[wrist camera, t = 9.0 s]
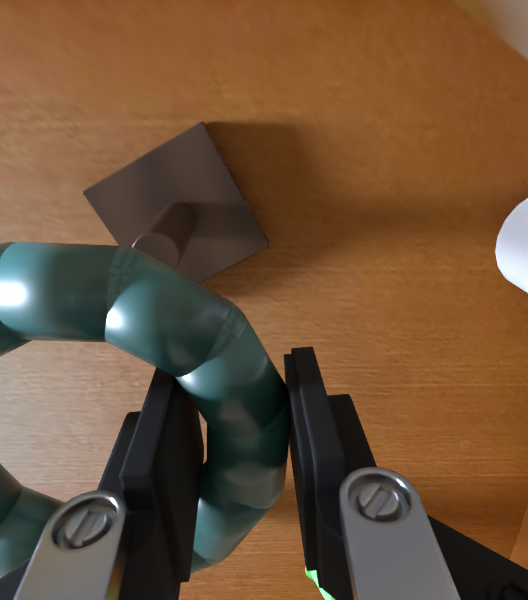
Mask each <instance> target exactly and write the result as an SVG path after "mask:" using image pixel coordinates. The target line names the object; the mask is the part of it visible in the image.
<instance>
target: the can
mask: <svg viewBox="0 0 528 600" xmlns="http://www.w3.org/2000/svg"><path fill="white" fill-rule="evenodd" d="M495 254H496V259H497V263H498V267H499V269H500V270H501V272H502V274H503V275H504V277H505V278H506V279H507V280H509V281H510V282H512V283H513V284H515V285H516V286H518V287H519V288H521V289H522V290H524V291H526V292H527V293H528V198H527V199H526V200H524V201H523V202H522V203H520V204H519V205H517V206H516V208H515V209H514V210H513V211H512V213H511V214H510V215H509V216H508V217H507V219H506V220H505V221H504V224H503V226H502V228H501V230H500V232H499V234H498V237H497V244H496V251H495Z"/></svg>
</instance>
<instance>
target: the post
mask: <svg viewBox="0 0 528 600" xmlns="http://www.w3.org/2000/svg"><path fill="white" fill-rule="evenodd" d="M82 193H83V194H84V196H85V197H86V199H87V200H88V202H89V203H90V205H91V206H92V207H93V209H94V210H95V212H96V213H97V215H98V216H99V218H100V219H101V221H102V222H103V223H104V225H105V226H106V228H107V229H108V231H109V232H110V234H111V235H112V236H113V238H114V239H115V241H116V242H117V244H118V245H119V246H127V247H132V248H136V249H139V250H141V251H143V252H145V253H147V254H149V255H151V256H152V257H154V258H156V259H158V260H159V261H161V262H163V263H165V264H166V265H168V266H170V267H172V268H173V269H175V270H177V271H179V272H180V273H182V274H184V275H186V276H187V277H189V278H191V279H193V280H194V281H196V282H198V283H200V282H202V281H204V280H206V279H208V278H209V277H211V276H213V275H215V274H217V273H219V272H221V271H223V270H225V269H227V268H229V267H231V266H232V265H234V264H236V263H238V262H240V261H242V260H244V259H246V258H248V257H250V256H252V255H253V254H255V253H257V252H259V251H261V250H263V249H265V248H267V247H269V242H268V239H267V237H266V236H265V234H264V232H263V230H262V228H261V226H260V225H259V223H258V221H257V219H256V217H255V215H254V214H253V212H252V210H251V208H250V206H249V204H248V202H247V201H246V199H245V197H244V195H243V193H242V191H241V190H240V188H239V186H238V184H237V182H236V180H235V178H234V177H233V175H232V173H231V171H230V169H229V167H228V166H227V164H226V162H225V160H224V158H223V156H222V155H221V153H220V151H219V149H218V147H217V145H216V143H215V142H214V140H213V138H212V136H211V134H210V132H209V131H208V129H207V127H206V125H205V123H204V122H200V123H198V124H196V125H195V126H193V127H191V128H189V129H188V130H186V131H184V132H183V133H181V134H179V135H178V136H176V137H174V138H172V139H171V140H169V141H167V142H166V143H164V144H162V145H161V146H159V147H157V148H155V149H154V150H152V151H150V152H149V153H147V154H145V155H143V156H142V157H140V158H138V159H137V160H135V161H133V162H132V163H130V164H128V165H126V166H125V167H123V168H121V169H120V170H118V171H116V172H115V173H113V174H111V175H109V176H108V177H106V178H104V179H103V180H101V181H99V182H98V183H96V184H94V185H92V186H91V187H89V188H87V189H86V190H84V191H83V192H82Z"/></svg>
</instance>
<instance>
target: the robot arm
mask: <svg viewBox="0 0 528 600" xmlns="http://www.w3.org/2000/svg"><path fill="white" fill-rule="evenodd" d="M291 353H292V354H284V366H285V382H286V386H287V389H288V395H289V405H290V436H289V445H290V453H291V461H292V468H293V476H294V483H295V490H296V498H297V505H298V513H299V520H300V527H301V535H302V542H303V550H304V557H305V565H306V570H307V571H316V574H317V580H318V586H319V588H323V590H324V591H325V592H327V593H328V594H329V595H330V596H332V597H333V598H334V599H335V600H528V570H527V569H525V568H523V567H521V566H519V565H518V564H516V563H514V562H512V561H510V560H509V559H507V558H505V557H503V556H501V555H499V554H498V553H496V552H494V551H492V550H490V549H489V548H487V547H485V546H483V545H481V544H479V543H478V542H476V541H474V540H472V539H470V538H469V537H467V536H465V535H463V534H461V533H459V532H458V531H456V530H454V529H452V528H450V527H449V526H447V525H445V524H443V523H441V522H439V521H438V520H436V519H434V518H432V517H430V516H429V515H427V514H426V512H425V509H424V507H423V504H422V502H421V499H420V497H419V494H418V493H417V491H416V489H415V488H414V486H413V484H411V483H410V482H409V481H408V480H407V479H406V478H405V477H404V476H402V475H400V474H398V473H396V472H395V471H392V470H389V469H385V468H381V467H377V466H376V463H375V460H374V458H373V455H372V452H371V450H370V447H369V444H368V442H367V439H366V436H365V434H364V431H363V428H362V426H361V423H360V420H359V418H358V415H357V412H356V410H355V407H354V404H353V402H352V399H351V397H350V395H349V394H341V395H329V396H327V394H326V390H325V387H324V384H323V380H322V377H321V373H320V370H319V366H318V363H317V360H316V356H315V353H314V349H313V347H301V348H292V350H291ZM203 461H204V444H203V438H202V431H201V425H200V419H199V413H198V409H197V408H196V406H195V405H194V403H193V402H192V400H191V399H190V398H189V396H188V395H187V393H186V392H185V391H184V389H183V388H182V386H181V385H180V383H179V382H178V381H177V379H176V378H175V376H173V375H171V374H169V373H167V372H165V371H163V370H161V369H159V368H157V367H156V370H155V373H154V376H153V379H152V382H151V384H150V387H149V390H148V393H147V396H146V399H145V402H144V405H143V407H142V410H141V411H138V412H129V413H128V414H127V416H126V417H125V420H124V422H123V425H122V427H121V430H120V432H119V435H118V437H117V440H116V443H115V445H114V448H113V450H112V453H111V455H110V458H109V460H108V463H107V466H106V468H105V471H104V473H103V476H102V478H101V481H100V483H99V486H98V488H97V490H95V491H91V492H86V493H83V494H81V495H78V496H76V497H74V498H72V499H70V500H69V501H67V502H66V503H65V504H63V505H62V506H60V507H59V508H58V509H57V510H56V512H55V513H54V514H53V515H52V516H51V517H50V519H49V520H48V522H47V524H46V525H45V527H44V530H43V532H42V534H41V537H40V539H39V541H38V543H37V546H36V548H35V550H34V553H33V555H32V556H31V557H30V558H29V559H27V560H26V561H24V562H23V563H22V564H20V565H19V566H17V567H16V568H14V569H13V570H12V571H10V572H9V573H7V574H6V575H4V576H3V577H2V578H0V600H178V599H179V591H180V584H181V582H188V581H189V579H190V572H191V564H192V555H193V547H194V538H195V529H196V521H197V512H198V504H199V495H200V485H201V470H202V466H203Z"/></svg>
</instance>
